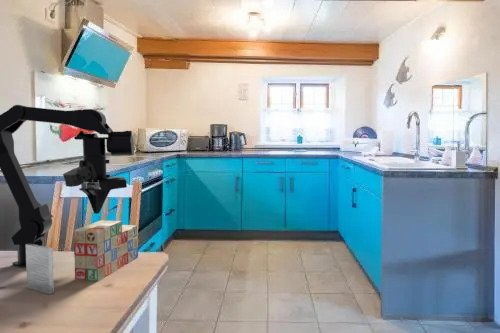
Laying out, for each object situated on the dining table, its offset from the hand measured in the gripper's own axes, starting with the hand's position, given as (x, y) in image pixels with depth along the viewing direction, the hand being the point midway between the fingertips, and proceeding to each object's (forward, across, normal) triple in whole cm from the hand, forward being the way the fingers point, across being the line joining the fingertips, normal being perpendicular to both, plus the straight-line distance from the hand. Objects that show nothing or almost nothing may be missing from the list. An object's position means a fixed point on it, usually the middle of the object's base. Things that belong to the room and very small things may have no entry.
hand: (96, 213), depth 116 cm
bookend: (+13, +8, -22) cm, 27 cm away
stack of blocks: (+14, +7, -2) cm, 15 cm away
